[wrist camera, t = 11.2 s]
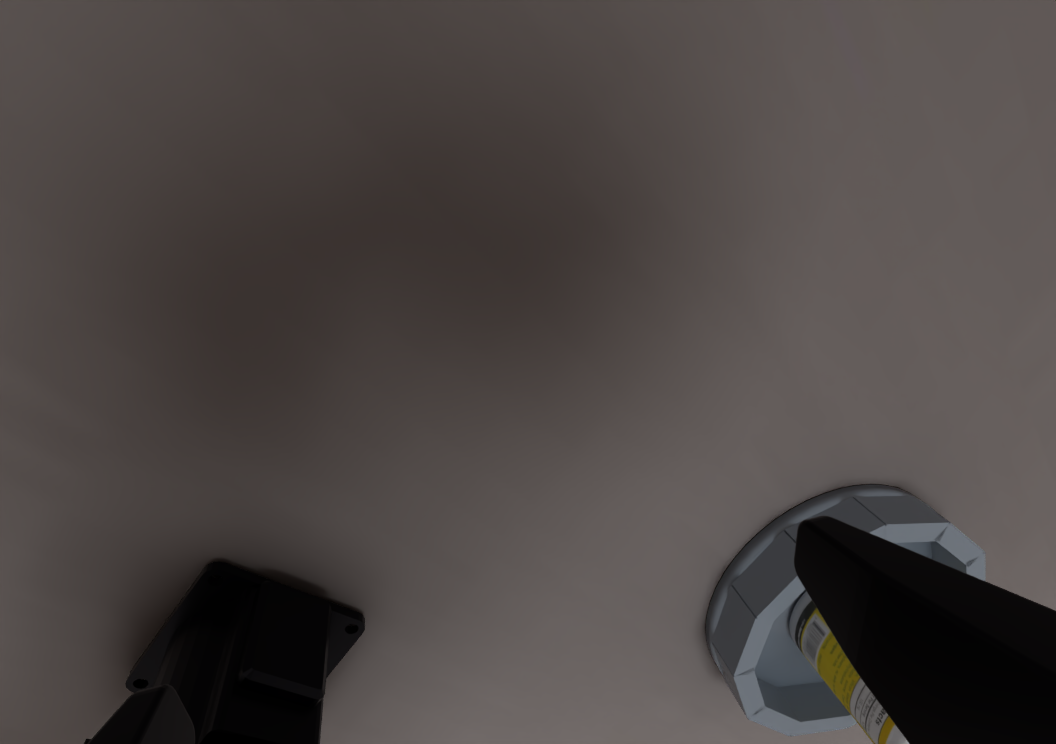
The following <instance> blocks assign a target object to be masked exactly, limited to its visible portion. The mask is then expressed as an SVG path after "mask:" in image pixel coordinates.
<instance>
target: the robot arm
mask: <svg viewBox="0 0 1056 744" xmlns="http://www.w3.org/2000/svg"><path fill="white" fill-rule="evenodd" d="M794 567H795V571H796V574H797V576H798V578H799V580H800V581H801V583H802V585H803V586H804V588H805V590H806V591H807V593H808V595H809V596H810V598H811V599H812V601H813V603H814V604H815V606H816V608H817V609H818V611H819V613H820V614H821V616H822V618H823V619H824V621H825V623H826V624H827V626H828V627H829V629H830V631H831V632H832V634H833V636H834V637H835V639H836V641H837V642H838V644H839V646H840V647H841V649H842V650H843V652H844V654H845V655H846V657H847V658H848V660H849V661H850V663H851V665H852V666H853V668H854V669H855V671H856V672H857V673H858V675H859V676H860V678H861V679H862V680H863V682H864V683H865V685H866V686H867V687H868V689H869V690H870V691H871V693H872V694H873V695H874V697H875V698H876V699H877V701H878V702H879V703H880V705H881V706H882V707H883V709H884V710H885V712H886V713H887V714H888V716H889V717H890V718H891V720H892V721H893V722H894V724H895V725H896V726H897V728H898V729H899V730H900V732H901V733H902V734H903V736H904V737H905V738H906V740H907V741H908V742H909V744H1056V611H1055V610H1053V609H1050V608H1048V607H1045V606H1043V605H1041V604H1038V603H1036V602H1033V601H1031V600H1029V599H1026V598H1024V597H1021V596H1019V595H1017V594H1014V593H1012V592H1009V591H1007V590H1005V589H1002V588H1000V587H998V586H995V585H993V584H990V583H988V582H986V581H983V580H981V579H978V578H976V577H974V576H971V575H969V574H966V573H964V572H962V571H959V570H957V569H954V568H952V567H950V566H947V565H945V564H943V563H940V562H938V561H935V560H933V559H931V558H928V557H926V556H923V555H921V554H919V553H916V552H914V551H911V550H909V549H907V548H904V547H902V546H899V545H897V544H895V543H892V542H890V541H888V540H885V539H883V538H880V537H878V536H876V535H873V534H871V533H868V532H866V531H864V530H861V529H859V528H856V527H854V526H852V525H849V524H847V523H844V522H842V521H840V520H837V519H835V518H832V517H830V516H818V517H814V518H810V519H807V520H803V521H802V522H801V523H800V524H799V525H798V529H797V537H796V545H795V553H794ZM212 575H220V576H221V577H222V578H214V577H213V576H212ZM350 624H355V625H354V626H348V625H350ZM364 630H365V618H364V616H363V615H362V614H360V613H359V612H356V611H353V610H351V609H348V608H345V607H342V606H340V605H337V604H334V603H332V602H329V601H326V600H324V599H321V598H318V597H316V596H313V595H310V594H308V593H305V592H302V591H300V590H297V589H294V588H291V587H289V586H286V585H283V584H281V583H278V582H275V581H273V580H270V579H267V578H265V577H262V576H259V575H257V574H254V573H251V572H249V571H246V570H243V569H241V568H238V567H235V566H232V565H230V564H227V563H224V562H213V563H210V564H208V565H207V566H206V567H205V568H204V569H203V571H202V572H201V573H200V575H199V576H198V578H197V579H196V580H195V582H194V583H193V585H192V586H191V587H190V589H189V590H188V592H187V593H186V594H185V596H184V597H183V599H182V600H181V601H180V603H179V604H178V606H177V607H176V608H175V610H174V611H173V613H172V614H171V615H170V617H169V618H168V620H167V621H166V622H165V624H164V625H163V626H162V628H161V629H160V631H159V632H158V633H157V635H156V636H155V638H154V639H153V640H152V642H151V643H150V645H149V646H148V647H147V649H146V650H145V652H144V653H143V654H142V656H141V657H140V659H139V660H138V661H137V663H136V664H135V666H134V667H133V668H132V670H131V671H130V674H129V676H128V679H127V681H126V688H127V689H128V690H129V691H132V692H134V694H132V695H131V696H130V697H129V698H128V699H127V700H126V701H125V702H124V703H123V704H122V705H121V707H120V708H119V709H118V710H117V711H116V712H115V713H114V714H113V716H112V717H111V718H110V719H109V720H108V721H107V722H106V723H105V725H104V726H103V727H102V728H101V729H100V730H99V731H98V732H97V734H96V735H95V736H94V737H93V738H92V739H86V740H85V742H84V744H320V734H321V722H322V710H323V697H324V694H325V684H326V678H327V677H328V675H329V674H330V673H331V672H332V670H333V669H334V668H335V667H336V665H337V664H338V663H339V662H340V661H341V659H342V658H343V657H344V656H345V654H346V653H347V652H348V651H349V649H350V648H351V647H352V646H353V645H354V643H355V642H356V641H357V640H358V638H359V637H360V636H361V635H362V633H363V632H364ZM144 679H145V680H144Z"/></svg>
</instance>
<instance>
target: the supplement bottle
mask: <svg viewBox="0 0 1056 744" xmlns="http://www.w3.org/2000/svg"><path fill="white" fill-rule="evenodd" d="M789 629H790V634H791V637H792V639H793V641H794V643H795V644H796V646H797V647H798V648H799V650H800V651H801V652H802V653H803V655H804V656H805V657H806V659H807V660H808V661H809V662H810V664H811V665H812V666H813V667H814V669H815V670H816V671H817V672H818V674H819V675H820V676H821V677H822V679H823V680H824V681H825V683H826V684H827V685H828V686H829V688H830V689H831V690H832V691H833V693H834V694H835V695H836V696H837V698H838V699H839V700H840V701H841V703H842V704H843V705H844V707H845V708H846V709H847V710H848V712H849V713H850V714H851V715H852V717H853V718H854V719H855V720H856V722H857V723H858V724H859V725H860V727H861V728H862V729H863V730H864V732H865V733H866V734H867V736H868V737H869V738H870V740H871V741H872V742H873V743H874V744H909V742H908V741H907V740H906V738H905V737H904V736H903V734H902V733H901V732H900V730H899V729H898V728H897V726H896V725H895V724H894V722H893V721H892V720H891V718H890V717H889V716H888V714H887V713H886V712H885V710H884V709H883V707H882V706H881V705H880V703H879V702H878V701H877V699H876V698H875V697H874V695H873V694H872V693H871V691H870V690H869V689H868V687H867V686H866V685H865V683H864V682H863V680H862V679H861V678H860V676H859V675H858V673H857V672H856V671H855V669H854V668H853V666H852V665H851V663H850V661H849V660H848V658H847V657H846V655H845V654H844V652H843V650H842V649H841V647H840V646H839V644H838V642H837V641H836V639H835V637H834V636H833V634H832V632H831V631H830V629H829V627H828V626H827V624H826V623H825V621H824V619H823V618H822V616H821V614H820V613H819V611H818V609H817V608H816V606H815V604H814V603H813V601H812V599H811V598H810V596H809V595H808V593H807V591H806V592H805V593H804V594H803V595H802V596H801V598H800V599H799V600H798V602H797V603H796V605H795V607H794V609H793V611H792V614H791V617H790V624H789Z"/></svg>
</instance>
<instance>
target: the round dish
mask: <svg viewBox="0 0 1056 744" xmlns="http://www.w3.org/2000/svg"><path fill="white" fill-rule="evenodd" d="M818 516H830V517H832V518H835V519H837V520H840V521H842V522H844V523H847V524H849V525H852V526H854V527H856V528H859V529H861V530H864V531H866V532H868V533H871V534H873V535H876V536H878V537H880V538H883V539H885V540H888V541H890V542H892V543H895V544H897V545H899V546H902V547H904V548H907V549H909V550H911V551H914V552H916V553H919V554H921V555H923V556H926V557H928V558H931V559H933V560H935V561H938V562H940V563H943V564H945V565H947V566H950V567H952V568H954V569H957V570H959V571H962V572H964V573H966V574H969V575H971V576H974V577H976V578H978V579H981V580H983V581H985V551H983V550H982V549H981V548H980V547H979V546H978V545H976V544H975V543H974V542H973V541H972V540H970V539H969V538H968V537H967V536H966V535H964V534H963V533H962V532H961V531H960V530H959V529H957V528H956V527H955V526H954V525H953V524H951V523H950V522H949V521H947V520H946V519H945V518H943V517H942V516H941V515H939V514H938V513H937V512H935V511H934V510H933V509H932V508H931V507H930V506H928V505H927V504H925V503H924V502H923V501H921V500H920V499H919V498H917V497H916V496H914V495H913V494H911V493H909V492H907V491H905V490H902V489H900V488H896V487H892V486H887V485H874V484H869V485H856V486H851V487H846V488H841V489H837V490H834V491H831V492H828V493H824V494H822V495H819V496H817V497H815V498H812V499H810V500H808V501H806V502H804V503H802V504H800V505H798V506H796V507H794V508H793V509H791V510H789V511H788V512H786V513H785V514H783V515H782V516H780V517H779V518H777V519H776V520H774V521H773V522H772V523H770V524H769V525H768V526H767V527H765V528H764V529H763V530H762V531H760V532H759V533H758V534H757V535H756V536H755V537H754V538H753V539H752V540H751V541H750V542H749V543H748V544H747V545H746V546H745V547H744V548H743V549H742V550H741V552H740V553H739V554H738V555H737V556H736V557H735V558H734V560H733V561H732V563H731V564H730V565H729V567H728V568H727V570H726V571H725V573H724V574H723V576H722V578H721V580H720V581H719V583H718V585H717V587H716V589H715V592H714V594H713V596H712V599H711V601H710V605H709V609H708V613H707V619H706V641H707V645H708V649H709V652H710V654H711V656H712V658H713V660H714V662H715V663H716V665H717V667H718V668H719V670H720V672H721V673H722V674H723V676H724V679H725V682H726V684H727V686H728V687H729V689H730V690H731V692H732V694H733V695H734V697H735V699H736V700H737V702H738V704H739V705H740V707H741V709H742V710H743V712H744V714H745V715H746V717H747V719H749V720H751V721H754V722H756V723H758V724H761V725H763V726H766V727H768V728H770V729H773V730H775V731H778V732H780V733H782V734H785V735H787V736H797V735H804V734H811V733H818V732H826V731H833V730H840V729H846V727H847V728H849V727H851V726H853V725H855V724H857V722H856V720H855V719H854V718H853V717H852V715H851V714H850V713H849V712H848V710H847V709H846V708H845V707H844V705H843V704H842V703H841V701H840V700H839V699H838V698H837V696H836V695H835V694H834V693H833V691H832V690H831V689H830V688H829V686H828V685H827V684H826V683H825V681H824V680H823V679H822V677H821V676H820V675H819V674H818V672H817V671H816V670H815V669H814V667H813V666H812V665H811V664H810V662H809V661H808V660H807V659H806V657H805V656H804V655H803V653H802V652H801V651H800V650H799V648H798V647H797V646H796V644H795V643H794V641H793V639H792V637H791V634H790V629H789V624H790V617H791V614H792V611H793V609H794V607H795V605H796V603H797V602H798V600H799V599H800V598H801V596H802V595H803V594H804V593H805V592H806V590H805V588H804V586H803V585H802V583H801V581H800V580H799V578H798V576H797V574H796V571H795V567H794V553H795V545H796V537H797V529H798V525H799V524H800V523H801V522H802V521H803V520H807V519H810V518H814V517H818Z"/></svg>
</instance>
